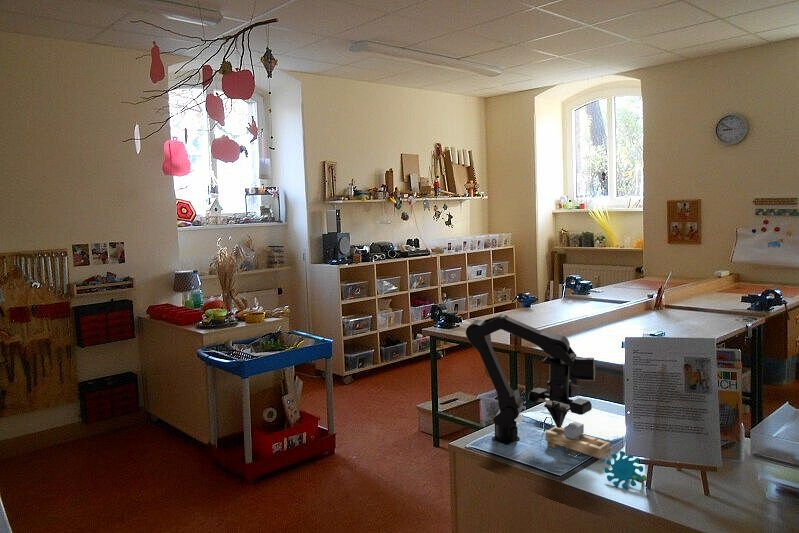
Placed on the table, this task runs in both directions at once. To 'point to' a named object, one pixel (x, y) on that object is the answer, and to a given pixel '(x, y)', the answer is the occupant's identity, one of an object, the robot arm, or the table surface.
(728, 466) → the table surface
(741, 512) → the table surface
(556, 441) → the beam
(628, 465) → the gear
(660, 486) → the table surface
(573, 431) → the white rectangular block
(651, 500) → the table surface
